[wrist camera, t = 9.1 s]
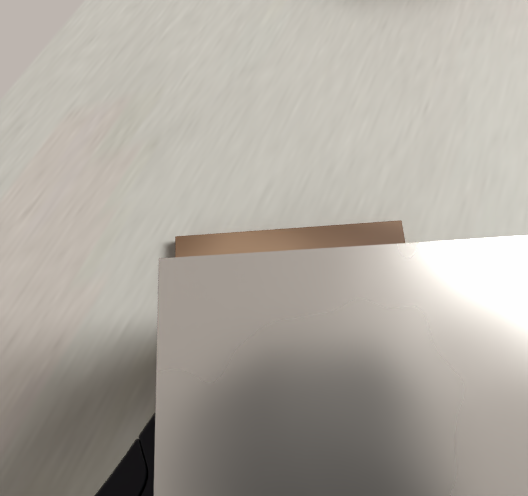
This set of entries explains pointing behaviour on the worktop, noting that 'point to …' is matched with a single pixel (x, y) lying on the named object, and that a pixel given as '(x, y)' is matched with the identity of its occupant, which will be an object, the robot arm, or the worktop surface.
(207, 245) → the walnut board
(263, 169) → the worktop surface
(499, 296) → the tea tin
